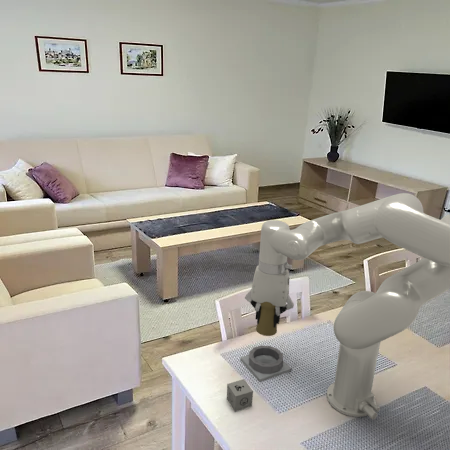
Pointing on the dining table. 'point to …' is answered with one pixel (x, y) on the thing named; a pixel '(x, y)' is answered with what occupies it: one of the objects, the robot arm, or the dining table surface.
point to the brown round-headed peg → (267, 320)
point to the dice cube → (239, 395)
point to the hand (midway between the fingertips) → (267, 322)
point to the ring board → (265, 363)
